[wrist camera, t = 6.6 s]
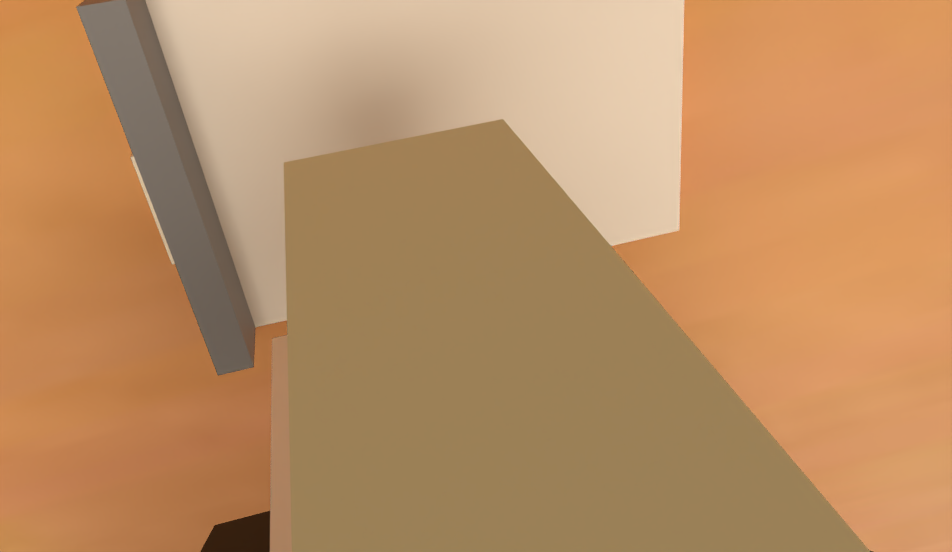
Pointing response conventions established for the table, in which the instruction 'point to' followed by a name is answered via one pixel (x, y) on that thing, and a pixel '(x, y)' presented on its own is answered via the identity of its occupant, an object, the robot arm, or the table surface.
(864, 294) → the table surface
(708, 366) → the tea tin
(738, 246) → the table surface
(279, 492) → the robot arm
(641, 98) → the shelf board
